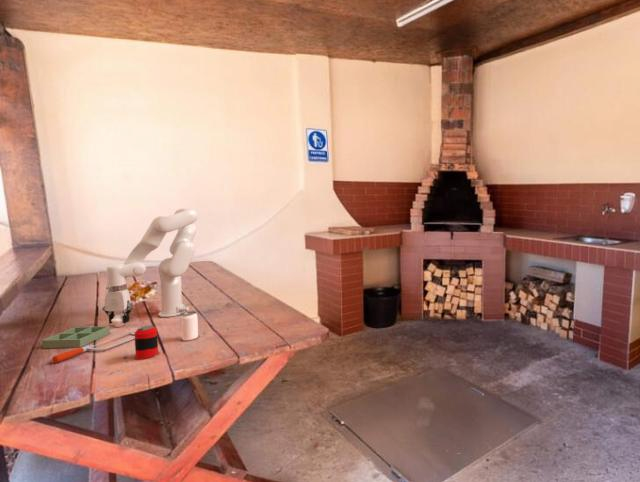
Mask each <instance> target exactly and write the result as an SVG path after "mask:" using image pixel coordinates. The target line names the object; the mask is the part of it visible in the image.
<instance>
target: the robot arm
mask: <svg viewBox="0 0 640 482" xmlns="http://www.w3.org/2000/svg"><path fill="white" fill-rule="evenodd" d="M198 215H199V214H198V213H197V212H196V210H194V209H191V208H179V209H177V210H175V212H174V213H173V214H171V215H166V216H164V215H163V216H157V217H155V218H154V219H153V220H152V221H151V222H150V224H149V226H148V228H147V229H146V231H145V232H144V235H143V237H142V238H141V239H140V241H139V242H138V243H137V244H136V245H135V247H134V248H133V249H132V250H131V251H130V253H129V254H128V256H127V258H126V259H125V261H124V263H114V264H109V265H108V266H107V267H106V282H107V283H106V284H107V286H105V289H106V290H107V291H106V292H105V296H104V305H103V307H101V310H102V311H103V312H104V313H105V314H106V316H107V317H108V324H109V325H111V324H113V323H112V322H111V320H112V319H113V318H114V315H115V314H116V313H115V312H121V313H123V315H124V316H123V323H125V324H126V323H130V315H131V313H132V312H133V310H135V308H136V306H135V305H133V304H132V301H131V295H130V291H129V289H128V280H127V278H136V277H137V278H138V277H140V276H142V275H145V273H146V271H147V266H146V264H144V260H145V259H146V258H147V256H148V255H149V254H151V252H153V251H155V250H156V249H158V248H159V246H160V245H161V243H162V241H163V240H164V238H165V236H166V234H167V233H171V232H174V231H177V232H176V235H175V236H174V239H173V240H172V242H171V244H170V246H169V253H170V254H171V255H172V256H171V257H167V258H164V259H163V260H161V262H159V264H158V275H159V280H160V300H161V301H160V302H161V311H159V313H158V317H159V318H160V317H161V318H170V317H171V318H173V317H176V316H181V315H182V314H183V313H186V312H189V309H190V306H188V305H187V306H185V303H183V290H182V289H183V288H182V285H183V284H182V283H183V282H182V276H183V275H184V274H185V273H186V271H187V270H188V268H189V266H190V264H191V262H192V259H194V258H193V257H194V256H195V252H196V247H195V245H194V243H192V242H193V241H194V238H195V237H196V232H197V224H196V222H197V220H198V218H199V216H198Z"/></svg>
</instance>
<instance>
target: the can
mask: <svg viewBox="0 0 640 482" xmlns="http://www.w3.org/2000/svg"><path fill="white" fill-rule="evenodd" d="M198 320H199V319H198V314H197V311H195V310H194V311H193V310H192V311H186V312H185V313H183V314H181V317H180V324H181V325H180V327H181V340H182V341H184V342H187V341H188V342H189V341H193V340H195V339H198V337H199V321H198Z"/></svg>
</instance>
